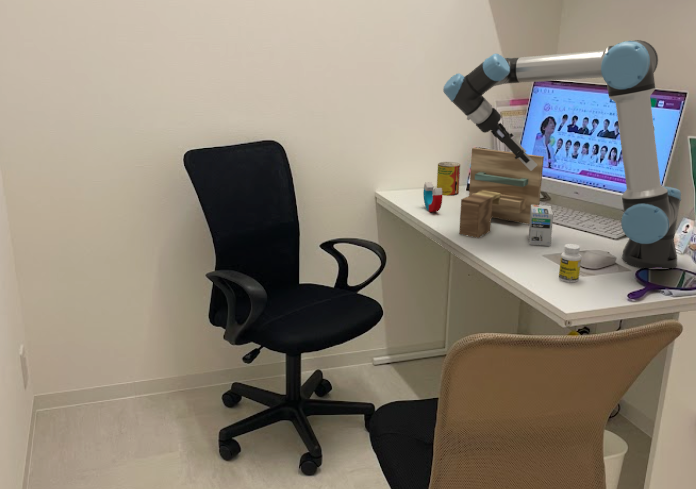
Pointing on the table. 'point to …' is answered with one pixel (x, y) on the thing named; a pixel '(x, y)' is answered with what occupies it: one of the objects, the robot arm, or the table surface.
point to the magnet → (432, 197)
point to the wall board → (507, 182)
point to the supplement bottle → (570, 263)
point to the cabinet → (477, 213)
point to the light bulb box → (540, 225)
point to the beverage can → (448, 178)
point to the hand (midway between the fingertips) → (528, 160)
